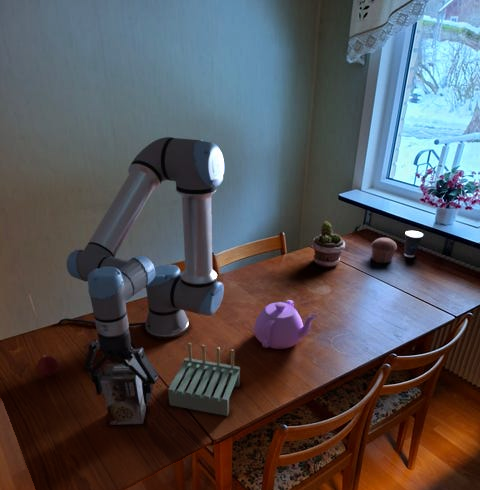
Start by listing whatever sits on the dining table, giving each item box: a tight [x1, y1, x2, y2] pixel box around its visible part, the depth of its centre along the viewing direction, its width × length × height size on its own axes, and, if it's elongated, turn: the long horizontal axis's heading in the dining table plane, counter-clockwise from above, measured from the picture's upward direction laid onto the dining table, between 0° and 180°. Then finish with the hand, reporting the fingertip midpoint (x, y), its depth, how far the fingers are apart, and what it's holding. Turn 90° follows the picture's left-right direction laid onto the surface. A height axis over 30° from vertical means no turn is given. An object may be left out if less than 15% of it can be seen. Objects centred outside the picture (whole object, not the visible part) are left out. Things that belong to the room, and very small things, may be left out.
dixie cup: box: [403, 230, 424, 258], centre depth 212 cm, size 8×8×11 cm
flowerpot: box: [311, 219, 346, 268], centre depth 201 cm, size 14×15×20 cm
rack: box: [167, 342, 241, 417], centre depth 128 cm, size 17×14×13 cm
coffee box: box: [100, 363, 147, 426], centre depth 119 cm, size 9×6×16 cm
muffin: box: [370, 237, 398, 264], centre depth 208 cm, size 12×11×10 cm
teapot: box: [253, 299, 318, 350], centre depth 151 cm, size 22×22×14 cm
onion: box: [36, 354, 59, 377], centre depth 136 cm, size 6×6×8 cm
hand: (124, 396), depth 119 cm, fingers open, 13 cm apart
